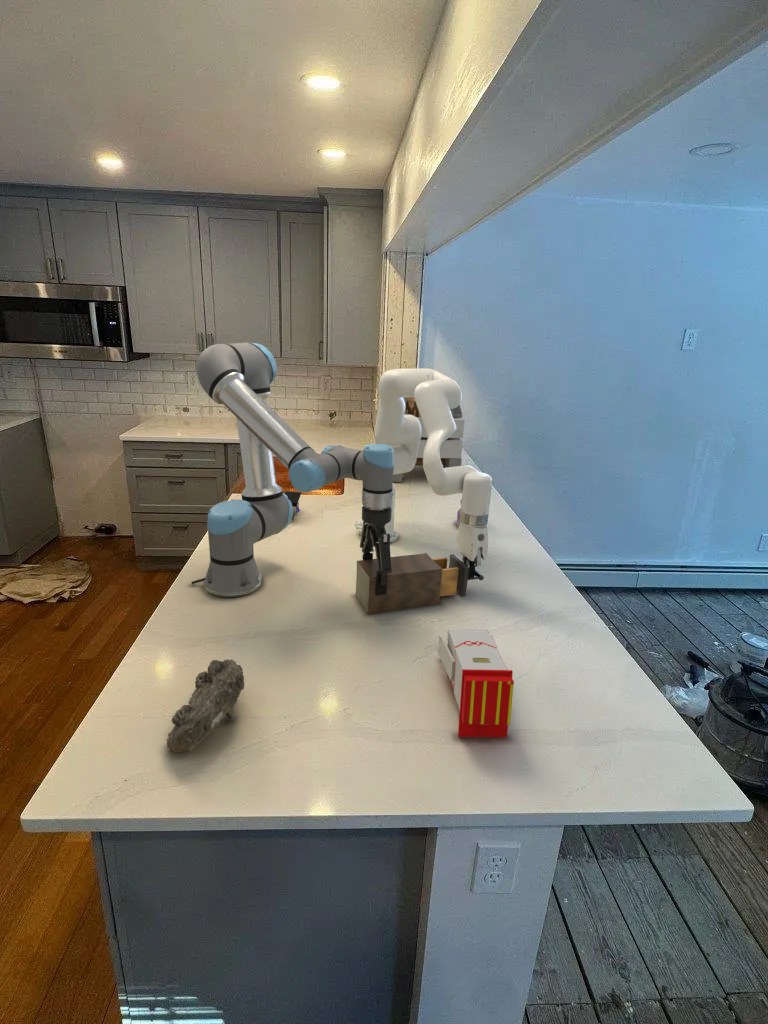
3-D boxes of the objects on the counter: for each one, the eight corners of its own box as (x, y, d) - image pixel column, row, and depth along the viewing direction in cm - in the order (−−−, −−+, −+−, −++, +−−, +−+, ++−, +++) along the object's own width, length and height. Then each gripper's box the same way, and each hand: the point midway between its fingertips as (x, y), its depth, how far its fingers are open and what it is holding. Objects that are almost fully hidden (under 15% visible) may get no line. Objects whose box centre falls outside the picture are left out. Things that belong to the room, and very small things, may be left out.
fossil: (192, 660, 117) (244, 628, 112) (224, 691, 120) (276, 661, 115) (142, 746, 98) (202, 712, 93) (182, 779, 101) (242, 748, 96)
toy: (488, 613, 130) (523, 677, 101) (484, 667, 133) (517, 744, 104) (435, 612, 130) (455, 676, 101) (432, 666, 133) (451, 743, 103)
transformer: (382, 463, 289) (386, 382, 275) (445, 464, 293) (451, 384, 279) (390, 482, 257) (394, 392, 243) (460, 483, 261) (468, 394, 247)
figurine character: (297, 525, 206) (302, 507, 220) (296, 507, 203) (301, 489, 216) (278, 525, 206) (284, 507, 220) (278, 506, 203) (284, 489, 216)
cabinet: (423, 586, 163) (426, 553, 159) (439, 603, 154) (442, 568, 150) (355, 595, 156) (356, 560, 152) (367, 614, 147) (369, 577, 143)
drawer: (468, 578, 167) (471, 552, 164) (484, 593, 159) (487, 565, 156) (389, 589, 158) (391, 561, 155) (401, 604, 150) (403, 575, 147)
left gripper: (408, 520, 134) (403, 603, 142) (375, 491, 154) (372, 565, 162) (378, 523, 132) (374, 607, 139) (349, 493, 152) (347, 568, 159)
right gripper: (500, 526, 149) (492, 588, 155) (473, 507, 162) (467, 566, 169) (474, 528, 147) (468, 592, 153) (449, 509, 160) (444, 568, 166)
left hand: (373, 584), depth 150 cm, fingers closed on cabinet, 10 cm apart
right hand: (467, 578), depth 161 cm, fingers closed
